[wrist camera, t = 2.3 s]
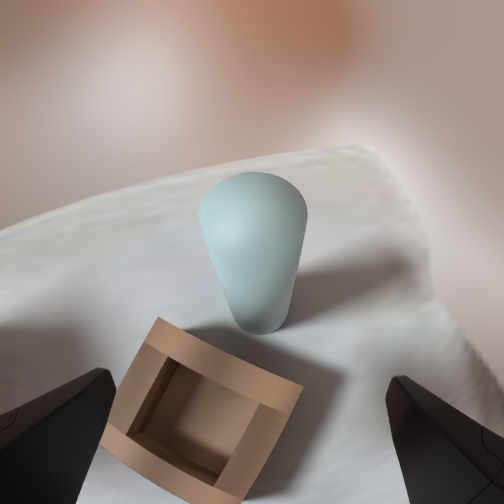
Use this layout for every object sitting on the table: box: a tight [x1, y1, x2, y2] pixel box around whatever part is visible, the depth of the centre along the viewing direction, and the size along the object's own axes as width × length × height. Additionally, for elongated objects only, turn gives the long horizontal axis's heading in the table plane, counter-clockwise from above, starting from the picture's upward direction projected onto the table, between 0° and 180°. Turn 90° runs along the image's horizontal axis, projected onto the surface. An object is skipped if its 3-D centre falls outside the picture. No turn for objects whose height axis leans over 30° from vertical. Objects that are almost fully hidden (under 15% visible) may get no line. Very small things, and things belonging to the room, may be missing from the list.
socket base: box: [99, 317, 304, 504], centre depth 17 cm, size 10×10×4 cm
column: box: [198, 172, 308, 335], centre depth 17 cm, size 4×4×12 cm
